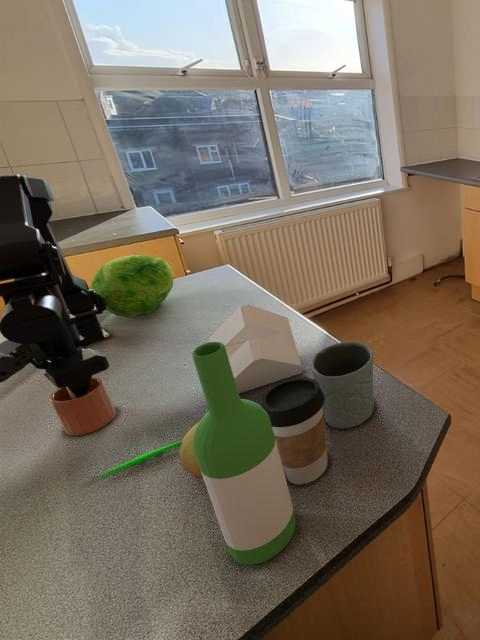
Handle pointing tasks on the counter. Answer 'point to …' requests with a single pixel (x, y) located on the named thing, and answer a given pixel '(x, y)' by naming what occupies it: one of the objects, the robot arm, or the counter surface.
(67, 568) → the counter surface
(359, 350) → the grey green pot
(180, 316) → the counter surface
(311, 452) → the coffee cup
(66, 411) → the cup
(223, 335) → the beige block
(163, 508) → the counter surface
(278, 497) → the bottle
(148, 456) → the leaf
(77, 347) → the robot arm
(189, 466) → the apple
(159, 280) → the lettuce
